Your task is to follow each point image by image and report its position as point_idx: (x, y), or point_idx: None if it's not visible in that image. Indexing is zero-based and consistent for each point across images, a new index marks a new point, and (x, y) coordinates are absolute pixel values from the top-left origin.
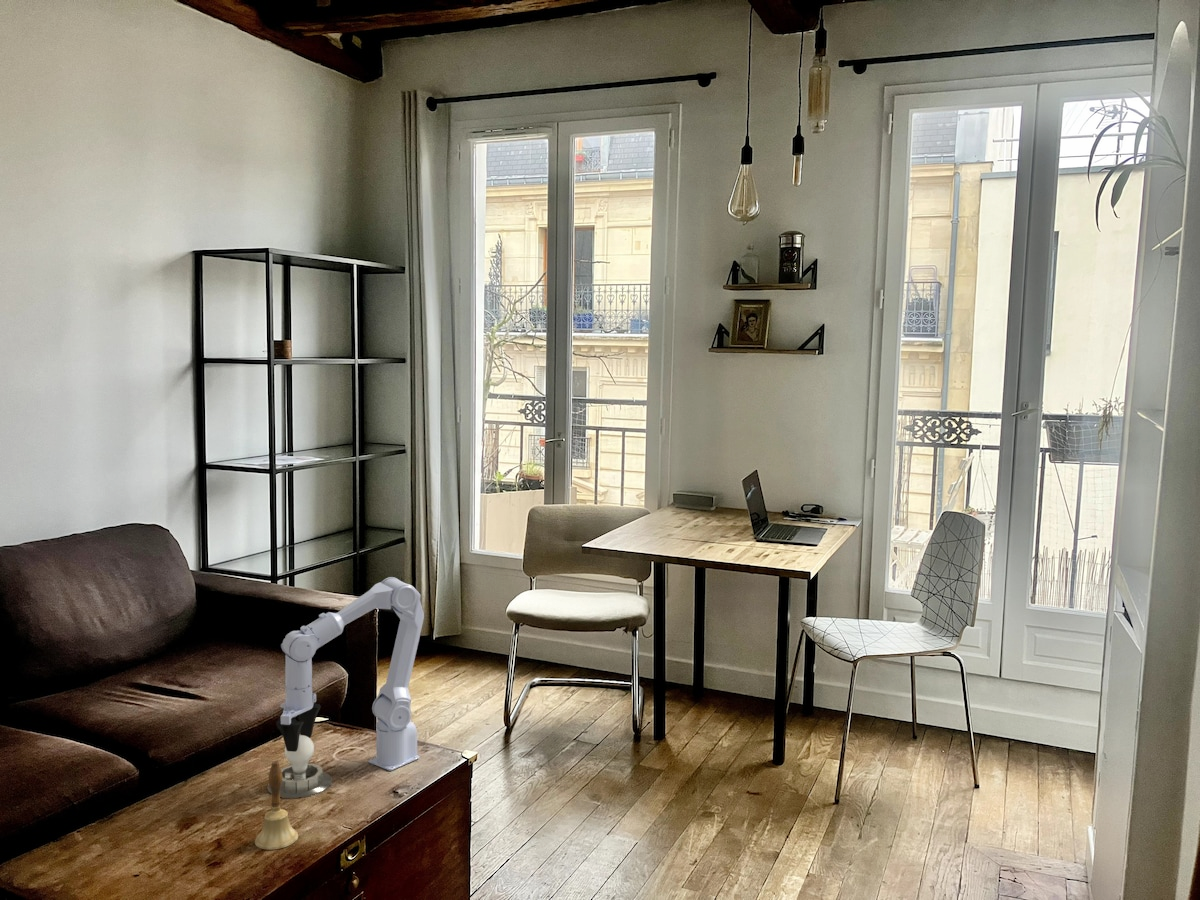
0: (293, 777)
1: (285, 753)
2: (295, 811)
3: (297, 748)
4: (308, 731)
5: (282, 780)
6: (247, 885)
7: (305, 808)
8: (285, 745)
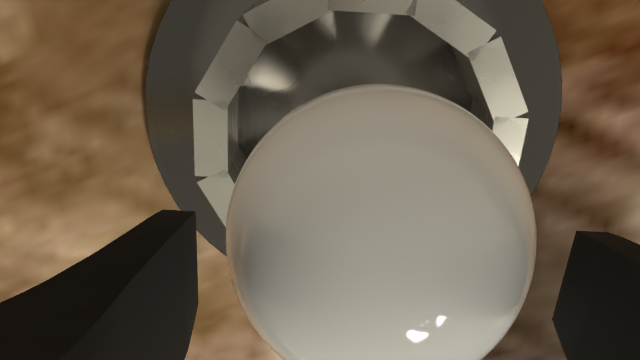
0: (439, 49)
1: (283, 120)
2: (10, 215)
3: (192, 323)
4: (594, 356)
5: (208, 71)
6: None
7: (58, 253)
8: (134, 227)
